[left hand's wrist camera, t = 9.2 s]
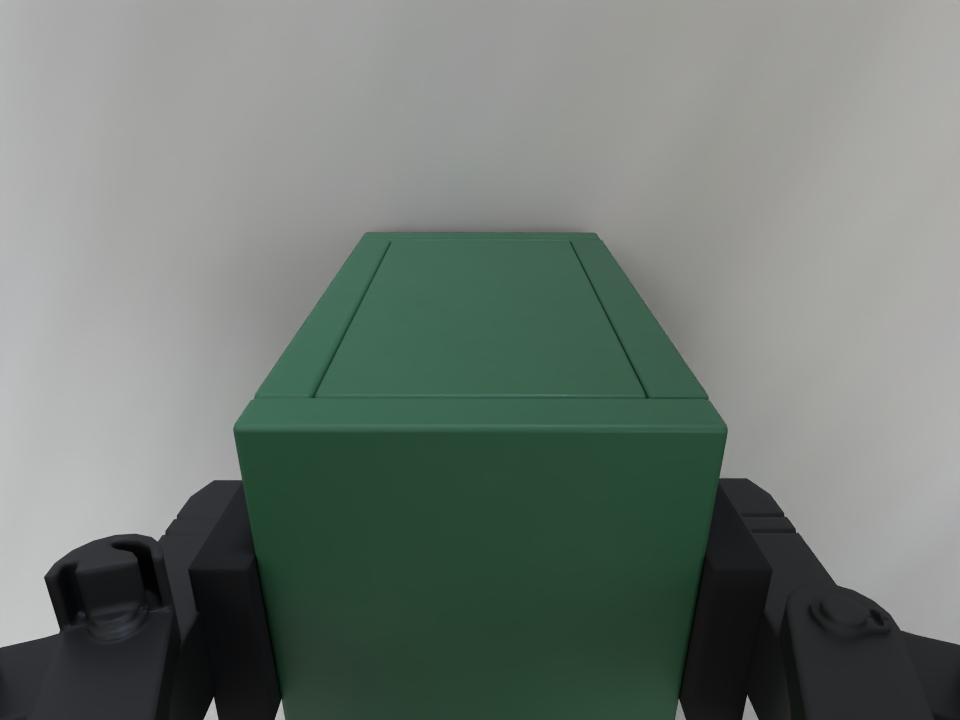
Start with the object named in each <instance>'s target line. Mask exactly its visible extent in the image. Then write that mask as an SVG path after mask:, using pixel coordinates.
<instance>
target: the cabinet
mask: <svg viewBox="0 0 960 720" xmlns="http://www.w3.org/2000/svg"><path fill="white" fill-rule="evenodd" d="M708 398H709V397H708V395H707V393H706V392H705V390H704V389H703V387H702V386H701V384H700V383H699V381H698V380H697V379H696V377H695V376H694V374H693V373H692V371H691V370H690V368H689V367H688V365H687V364H686V363H685V361H684V360H683V358H682V357H681V355H680V354H679V352H678V351H677V349H676V348H675V346H674V345H673V344H672V342H671V341H670V339H669V338H668V336H667V335H666V333H665V332H664V330H663V329H662V327H661V326H660V325H659V323H658V322H657V320H656V319H655V317H654V316H653V314H652V313H651V311H650V310H649V308H648V307H647V306H646V304H645V303H644V301H643V300H642V298H641V297H640V295H639V294H638V292H637V291H636V289H635V288H634V287H633V285H632V284H631V282H630V281H629V279H628V278H627V276H626V275H625V273H624V272H623V270H622V269H621V268H620V266H619V265H618V263H617V262H616V260H615V259H614V257H613V256H612V254H611V253H610V251H609V250H608V249H607V247H606V246H605V244H604V243H603V241H602V240H600V238H599V237H598V235H597V234H595V233H373V232H367V233H365V234H364V236H363V237H362V239H361V241H359V243H358V244H357V246H356V247H355V249H354V250H353V252H352V253H351V255H350V256H349V258H348V259H347V261H346V262H345V263H344V265H343V266H342V268H341V269H340V271H339V272H338V274H337V275H336V277H335V278H334V280H333V281H332V282H331V284H330V285H329V287H328V288H327V290H326V291H325V293H324V294H323V296H322V297H321V299H320V300H319V302H318V303H317V304H316V306H315V307H314V309H313V310H312V312H311V313H310V315H309V316H308V318H307V319H306V321H305V322H304V324H303V325H302V326H301V328H300V329H299V331H298V332H297V334H296V335H295V337H294V338H293V340H292V341H291V343H290V344H289V345H288V347H287V348H286V350H285V351H284V353H283V354H282V356H281V357H280V359H279V360H278V362H277V363H276V365H275V366H274V367H273V369H272V370H271V372H270V373H269V375H268V376H267V378H266V379H265V381H264V382H263V384H262V385H261V387H260V388H259V389H258V391H257V392H256V394H255V397H254V399H253V400H251V401H250V403H249V404H248V405H247V407H246V408H245V410H244V411H243V413H242V414H241V416H240V417H239V419H238V420H237V422H236V423H235V425H234V429H233V430H234V436H235V442H236V447H237V453H238V458H239V464H240V469H241V475H242V481H243V486H244V492H245V497H246V503H247V508H248V514H249V520H250V525H251V531H252V536H253V542H254V547H255V553H256V559H257V564H258V570H259V575H260V581H261V586H262V592H263V598H264V603H265V609H266V614H267V620H268V625H269V631H270V637H271V642H272V648H273V653H274V659H275V664H276V670H277V675H278V681H279V687H280V692H281V698H282V703H283V709H284V714H285V720H675V715H676V710H677V705H678V699H679V694H680V688H681V683H682V677H683V672H684V666H685V661H686V656H687V650H688V645H689V639H690V634H691V628H692V623H693V617H694V612H695V607H696V601H697V596H698V590H699V585H700V579H701V574H702V568H703V563H704V558H705V552H706V547H707V541H708V536H709V530H710V525H711V519H712V514H713V509H714V503H715V498H716V492H717V487H718V481H719V476H720V470H721V465H722V460H723V454H724V449H725V443H726V438H727V432H728V429H727V425H726V424H725V422H724V421H723V419H722V418H721V416H720V415H719V413H718V412H717V410H716V409H715V407H714V406H713V405H712V403H711V402H710V401H708Z"/></svg>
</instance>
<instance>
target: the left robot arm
mask: <svg viewBox="0 0 960 720" xmlns="http://www.w3.org/2000/svg"><path fill="white" fill-rule="evenodd" d="M44 579H45V582H46V585H47V588H48V592H49V595H50V598H51V601H52V605H53V608H54V611H55V614H56V618H57V621H58V624H59V627H60V632H59V634H56V635H52V636H49V637H46V638H41V639H37V640H32V641H28V642H24V643H19V644H15V645H11V646H6V647H2V648H0V720H203V719H204V717H205V715H206V713H207V711H208V708H209V706H210V704H211V702H212V699H213V697H214V699H215V704H216V709H217V714H218V719H219V720H275V717H276V714H277V711H278V708H279V705H280V702H281V699H282V698H281V692H280V687H279V681H278V675H277V670H276V664H275V659H274V653H273V648H272V642H271V637H270V631H269V625H268V620H267V614H266V609H265V603H264V598H263V592H262V586H261V581H260V575H259V570H258V564H257V559H256V553H255V547H254V542H253V536H252V531H251V525H250V520H249V514H248V508H247V503H246V497H245V492H244V486H243V481H242V480H214V481H213V482H211V483H210V484H208V485H207V486H205V487H204V488H203V489H201V490H200V491H198V492H197V493H195V494H194V495H192V496H191V497H190V498H189V500H188V501H187V503H186V504H185V505H184V507H183V508H182V509H181V511H180V512H179V513H178V515H177V519H174V520H173V522H172V523H171V524H170V526H169V527H168V529H167V530H166V534H165V535H162V537H161V538H160V540H159V541H158V542H157V541H156V540H155V539H153V538H152V537H148V536H144V535H139V534H124V535H114V536H110V537H106V538H102V539H98V540H95V541H92V542H90V543H88V544H85V545H83V546H81V547H79V548H77V549H75V550H72V551H71V552H70V553H68V554H67V555H65V556H64V557H63V558H61V559H60V560H59V561H57V562H56V563H55V564H54V565H53V566H52V568H51V569H50V570H49V571H48V573H47V574H46V575H45V577H44ZM747 695H748V697H749V699H750V701H751V704H752V706H753V708H754V710H755V712H756V715H757V717H758V719H759V720H960V645H957V644H953V643H949V642H944V641H940V640H935V639H931V638H927V637H922V636H918V635H914V634H911V633H907V632H904V631H901V630H900V629H899V627H898V626H897V624H896V623H895V621H894V620H893V618H892V617H891V615H890V614H889V613H888V612H886V611H885V610H884V609H883V608H882V607H880V606H879V605H878V604H877V603H876V602H874V601H873V600H871V599H869V598H867V597H865V596H863V595H861V594H860V593H858V592H856V591H854V590H851V589H847V588H844V587H840V586H837V585H836V583H835V582H834V581H833V579H832V578H831V577H830V575H829V574H828V572H827V571H826V570H825V568H824V567H823V566H822V564H821V563H820V562H819V560H818V559H817V557H816V556H815V555H814V553H813V552H812V551H811V549H810V548H809V547H808V545H807V544H806V542H805V541H804V540H803V538H802V537H801V536H800V534H799V533H796V529H795V528H794V526H793V525H792V523H791V522H790V521H789V519H788V518H787V517H784V513H783V511H782V510H781V508H780V507H779V506H778V504H777V503H776V502H775V500H774V499H773V498H772V496H771V495H770V494H769V493H767V492H766V491H764V490H763V489H761V488H760V487H759V486H757V485H756V484H754V483H753V482H751V481H750V480H748V479H747V478H719V481H718V487H717V492H716V498H715V503H714V509H713V514H712V519H711V525H710V530H709V536H708V541H707V547H706V552H705V558H704V563H703V568H702V574H701V579H700V585H699V590H698V596H697V601H696V607H695V612H694V617H693V623H692V628H691V634H690V639H689V645H688V650H687V656H686V661H685V666H684V672H683V677H682V683H681V688H680V694H679V700H680V703H681V706H682V709H683V712H684V715H685V718H686V720H742V717H743V712H744V707H745V702H746V698H747Z"/></svg>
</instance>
